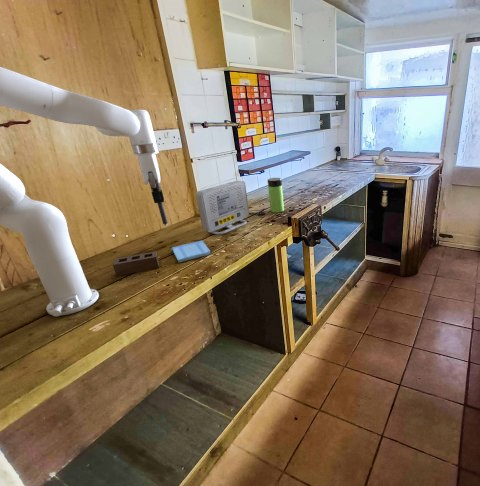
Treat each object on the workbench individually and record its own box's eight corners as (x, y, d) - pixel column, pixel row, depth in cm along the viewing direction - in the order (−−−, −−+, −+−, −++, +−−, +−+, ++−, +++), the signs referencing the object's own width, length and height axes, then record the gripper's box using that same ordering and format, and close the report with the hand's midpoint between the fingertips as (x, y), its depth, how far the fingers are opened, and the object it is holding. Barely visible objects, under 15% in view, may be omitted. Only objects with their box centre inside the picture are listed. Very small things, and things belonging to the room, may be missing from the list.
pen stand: (159, 267, 113) (155, 256, 112) (116, 276, 109) (112, 265, 107) (159, 261, 118) (156, 251, 116) (118, 269, 113) (115, 258, 111)
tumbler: (268, 210, 172) (265, 178, 165) (281, 207, 175) (278, 176, 168) (273, 213, 166) (269, 181, 159) (286, 211, 169) (283, 179, 162)
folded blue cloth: (211, 254, 123) (210, 251, 122) (178, 262, 117) (177, 259, 116) (202, 242, 133) (202, 240, 132) (172, 250, 127) (171, 247, 126)
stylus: (168, 225, 117) (157, 186, 110) (163, 226, 116) (152, 187, 110) (168, 224, 118) (158, 185, 112) (163, 225, 118) (152, 186, 111)
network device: (241, 217, 162) (235, 179, 153) (254, 220, 157) (248, 180, 149) (200, 234, 142) (191, 191, 134) (213, 237, 138) (205, 193, 130)
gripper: (135, 147, 111) (149, 197, 118) (130, 153, 98) (146, 209, 105) (158, 145, 113) (170, 194, 121) (156, 151, 100) (170, 205, 108)
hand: (159, 201), depth 113 cm, fingers closed on stylus, 1 cm apart
